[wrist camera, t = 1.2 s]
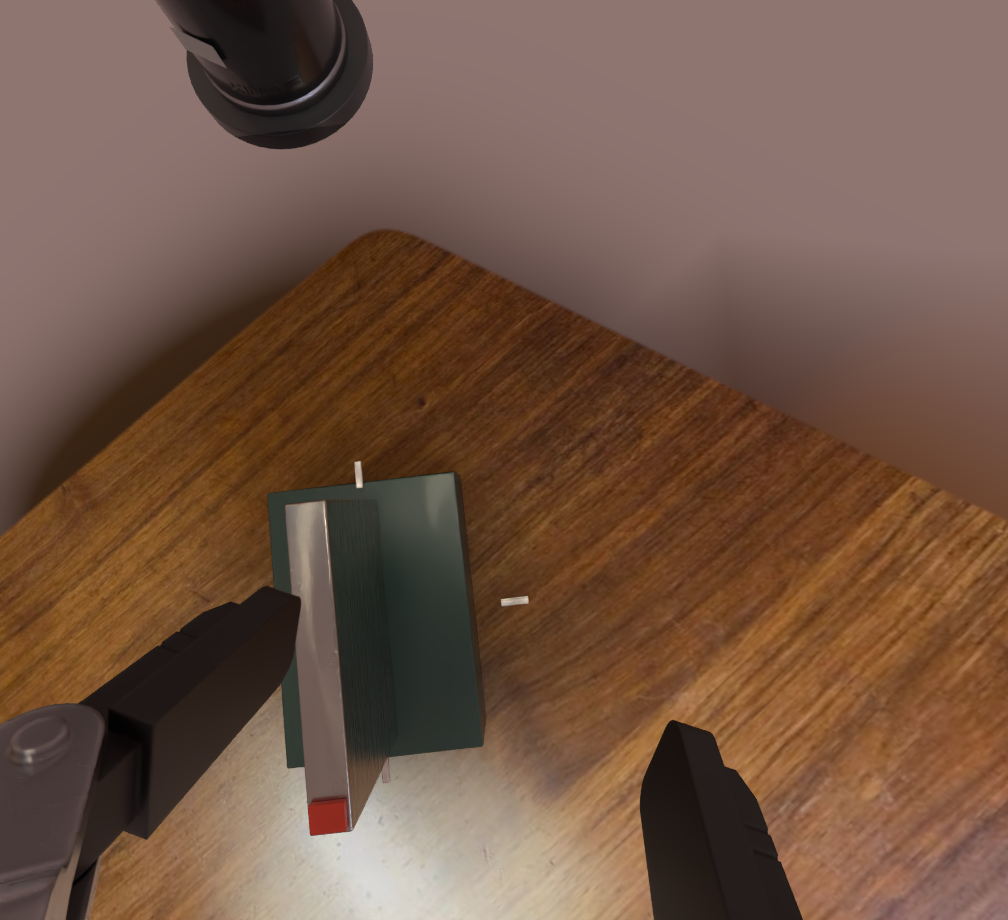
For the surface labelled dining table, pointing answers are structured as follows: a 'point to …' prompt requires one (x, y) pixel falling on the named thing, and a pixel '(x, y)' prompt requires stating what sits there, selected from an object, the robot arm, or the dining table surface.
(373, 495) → the base block
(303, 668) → the upright slab
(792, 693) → the dining table surface
